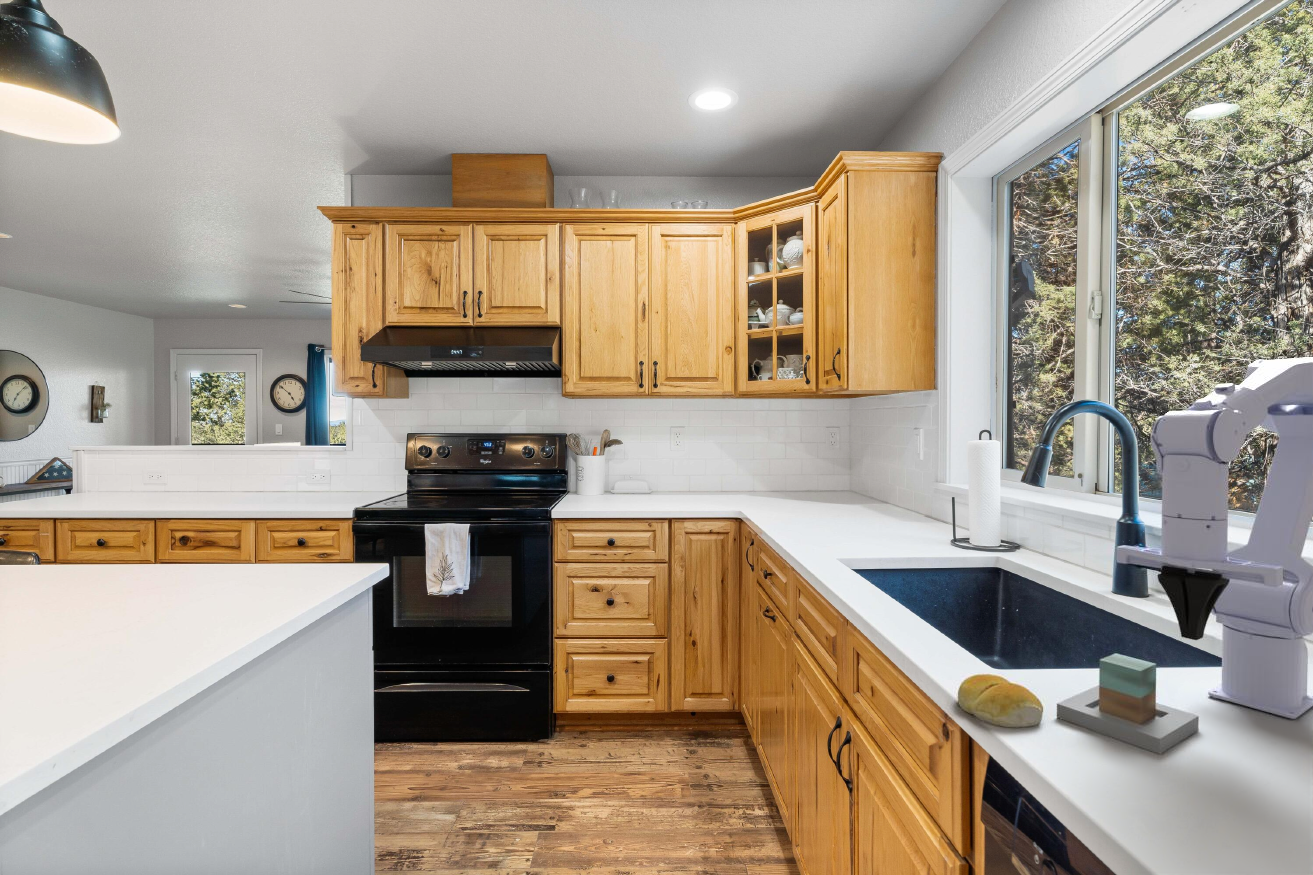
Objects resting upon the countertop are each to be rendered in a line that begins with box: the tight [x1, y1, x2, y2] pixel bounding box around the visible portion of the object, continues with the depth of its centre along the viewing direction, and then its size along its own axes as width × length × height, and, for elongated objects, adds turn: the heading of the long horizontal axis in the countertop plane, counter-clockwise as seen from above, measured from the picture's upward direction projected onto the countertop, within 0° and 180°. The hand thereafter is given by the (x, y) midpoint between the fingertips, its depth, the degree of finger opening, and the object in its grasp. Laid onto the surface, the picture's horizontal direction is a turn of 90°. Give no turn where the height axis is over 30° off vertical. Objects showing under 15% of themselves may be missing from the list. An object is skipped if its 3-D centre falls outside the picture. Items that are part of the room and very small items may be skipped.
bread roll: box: [957, 673, 1044, 729], centre depth 77 cm, size 8×9×4 cm
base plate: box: [1056, 685, 1200, 755], centre depth 73 cm, size 10×10×2 cm
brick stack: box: [1098, 653, 1157, 725], centre depth 73 cm, size 4×4×6 cm
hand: (1192, 637), depth 73 cm, fingers closed
